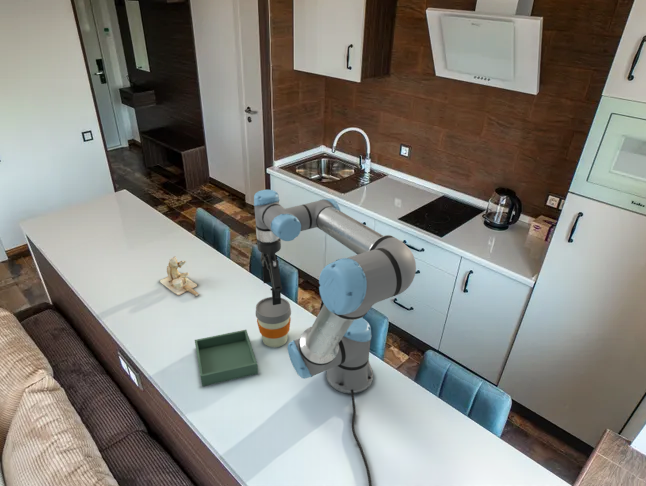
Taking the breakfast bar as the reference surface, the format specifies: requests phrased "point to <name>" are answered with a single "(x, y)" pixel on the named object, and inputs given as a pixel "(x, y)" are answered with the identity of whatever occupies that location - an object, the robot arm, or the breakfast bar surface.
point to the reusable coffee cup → (273, 321)
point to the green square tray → (225, 357)
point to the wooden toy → (178, 279)
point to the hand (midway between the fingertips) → (271, 292)
